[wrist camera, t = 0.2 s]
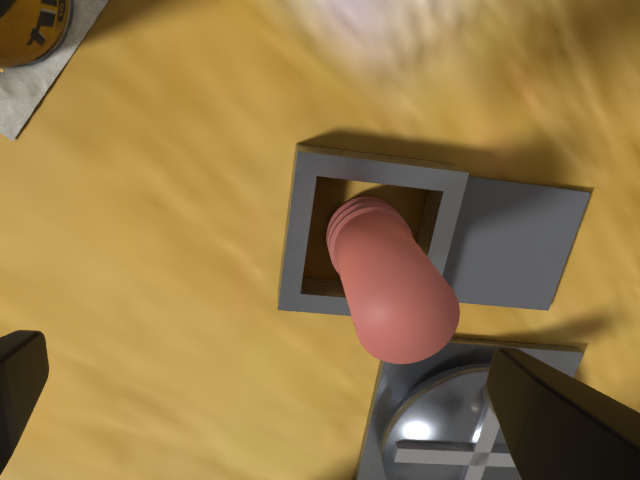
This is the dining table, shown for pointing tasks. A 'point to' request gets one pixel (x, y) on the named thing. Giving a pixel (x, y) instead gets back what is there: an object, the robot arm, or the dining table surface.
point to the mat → (512, 242)
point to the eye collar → (367, 167)
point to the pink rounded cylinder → (390, 283)
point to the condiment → (37, 51)
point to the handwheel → (447, 431)
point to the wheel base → (405, 377)
